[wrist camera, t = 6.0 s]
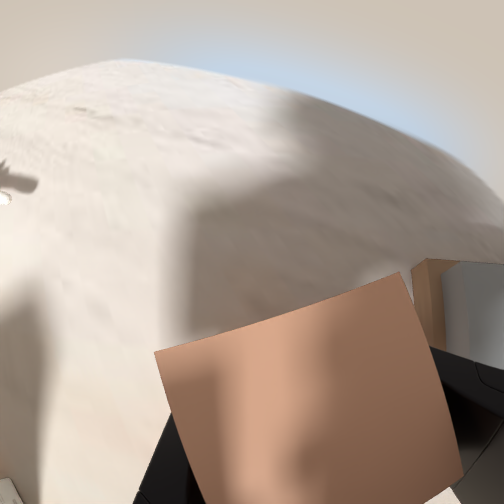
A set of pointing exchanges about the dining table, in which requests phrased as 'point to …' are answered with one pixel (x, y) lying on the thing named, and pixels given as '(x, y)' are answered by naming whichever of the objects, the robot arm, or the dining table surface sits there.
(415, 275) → the tower base slab
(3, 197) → the decorative figure
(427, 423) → the terracotta block
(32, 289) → the dining table surface
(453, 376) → the robot arm
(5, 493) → the skincare box
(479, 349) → the tower top slab
